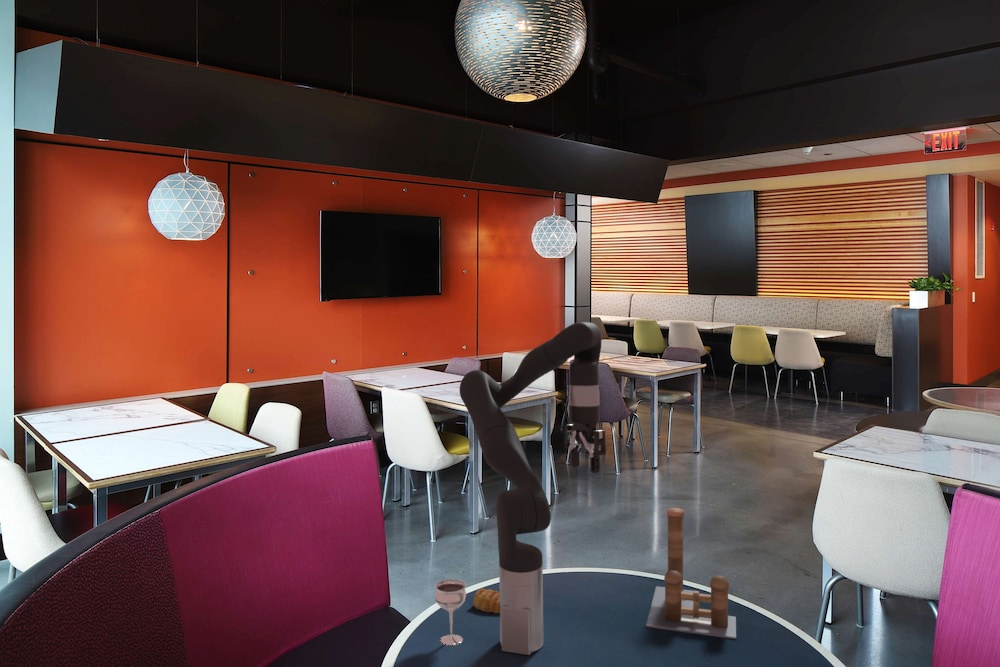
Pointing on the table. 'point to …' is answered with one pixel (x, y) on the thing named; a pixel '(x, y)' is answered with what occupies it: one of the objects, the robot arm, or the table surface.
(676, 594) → the fixed fence
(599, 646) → the table surface
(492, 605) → the pastry
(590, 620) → the table surface
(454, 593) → the wineglass
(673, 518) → the wooden fence section
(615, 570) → the table surface
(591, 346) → the robot arm
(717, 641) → the table surface
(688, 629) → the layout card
